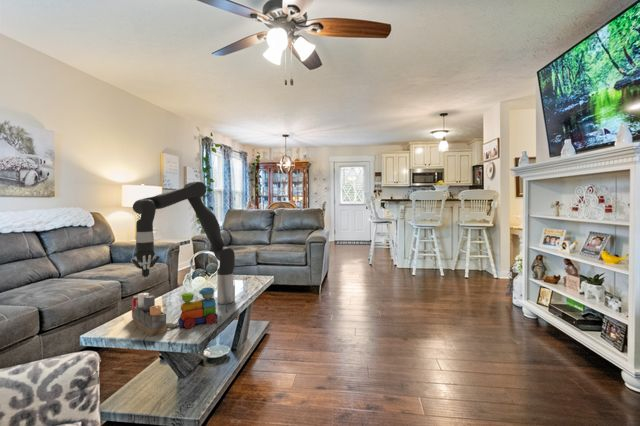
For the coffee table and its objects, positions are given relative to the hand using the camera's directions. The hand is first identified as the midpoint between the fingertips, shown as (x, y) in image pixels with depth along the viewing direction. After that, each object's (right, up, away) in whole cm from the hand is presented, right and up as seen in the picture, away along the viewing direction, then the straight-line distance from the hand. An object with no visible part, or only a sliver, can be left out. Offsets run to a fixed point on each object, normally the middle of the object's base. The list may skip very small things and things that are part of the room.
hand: (145, 276), depth 153 cm
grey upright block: (+3, -16, -3) cm, 16 cm away
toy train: (+20, -24, +3) cm, 32 cm away
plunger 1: (-2, -16, +2) cm, 16 cm away
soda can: (-8, -24, +9) cm, 27 cm away
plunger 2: (+9, -19, -8) cm, 22 cm away
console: (+3, -24, -3) cm, 24 cm away
